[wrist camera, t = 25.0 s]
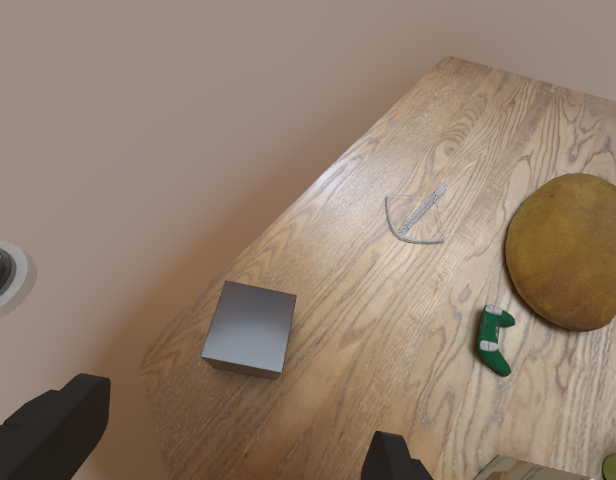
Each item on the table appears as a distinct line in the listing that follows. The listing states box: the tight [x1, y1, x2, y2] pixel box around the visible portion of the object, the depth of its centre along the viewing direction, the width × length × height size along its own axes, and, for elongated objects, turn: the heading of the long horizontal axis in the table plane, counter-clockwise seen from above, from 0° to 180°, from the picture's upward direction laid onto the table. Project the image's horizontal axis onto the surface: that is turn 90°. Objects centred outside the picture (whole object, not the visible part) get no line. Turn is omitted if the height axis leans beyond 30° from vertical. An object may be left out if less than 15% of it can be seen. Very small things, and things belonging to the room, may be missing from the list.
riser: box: [200, 281, 297, 380], centre depth 35 cm, size 8×8×10 cm
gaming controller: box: [478, 305, 515, 377], centre depth 43 cm, size 9×4×6 cm
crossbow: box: [386, 184, 448, 244], centre depth 54 cm, size 16×13×2 cm
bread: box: [505, 173, 616, 332], centre depth 51 cm, size 18×35×10 cm, turn 145°
